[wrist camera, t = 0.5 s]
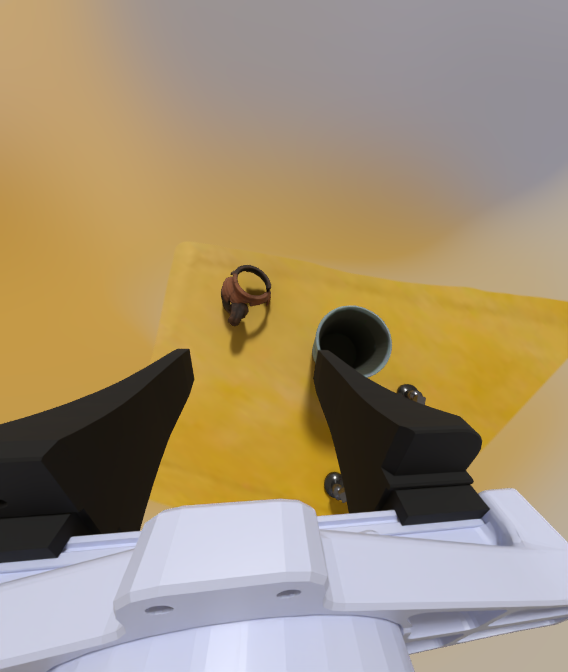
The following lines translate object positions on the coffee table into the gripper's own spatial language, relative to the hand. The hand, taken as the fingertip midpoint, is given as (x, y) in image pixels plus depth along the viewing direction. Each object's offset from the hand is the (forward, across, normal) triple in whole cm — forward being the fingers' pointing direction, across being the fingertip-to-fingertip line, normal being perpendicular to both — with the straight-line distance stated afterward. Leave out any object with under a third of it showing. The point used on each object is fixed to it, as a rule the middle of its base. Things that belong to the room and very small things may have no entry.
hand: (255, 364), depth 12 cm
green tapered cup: (+23, -15, +13) cm, 30 cm away
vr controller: (+32, +3, +7) cm, 32 cm away
